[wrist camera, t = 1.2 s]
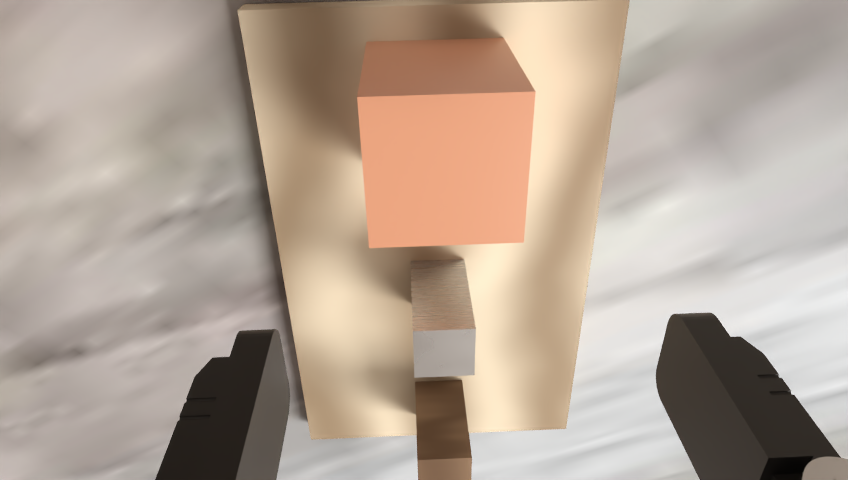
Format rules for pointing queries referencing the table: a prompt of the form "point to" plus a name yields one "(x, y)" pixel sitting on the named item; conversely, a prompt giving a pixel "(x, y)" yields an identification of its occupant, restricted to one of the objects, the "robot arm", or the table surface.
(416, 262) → the steel post
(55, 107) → the table surface
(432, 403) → the walnut post
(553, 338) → the board
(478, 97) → the salmon orange block
